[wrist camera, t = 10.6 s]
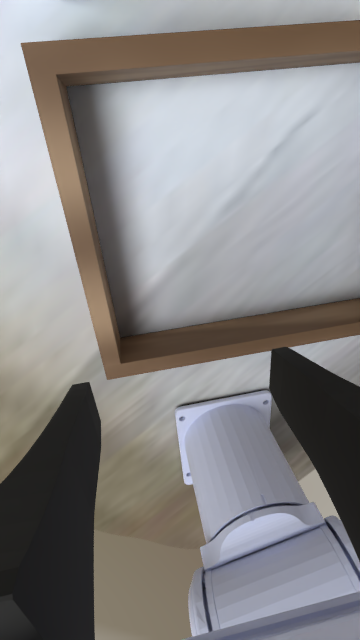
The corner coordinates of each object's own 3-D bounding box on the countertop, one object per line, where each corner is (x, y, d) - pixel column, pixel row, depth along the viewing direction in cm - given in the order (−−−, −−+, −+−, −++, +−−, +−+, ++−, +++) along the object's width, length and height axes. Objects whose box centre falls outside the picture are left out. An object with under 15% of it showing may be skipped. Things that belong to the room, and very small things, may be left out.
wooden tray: (373, 307, 24) (404, 326, 22) (108, 352, 22) (107, 379, 20) (436, 31, 17) (496, 11, 14) (37, 61, 14) (20, 42, 12)
